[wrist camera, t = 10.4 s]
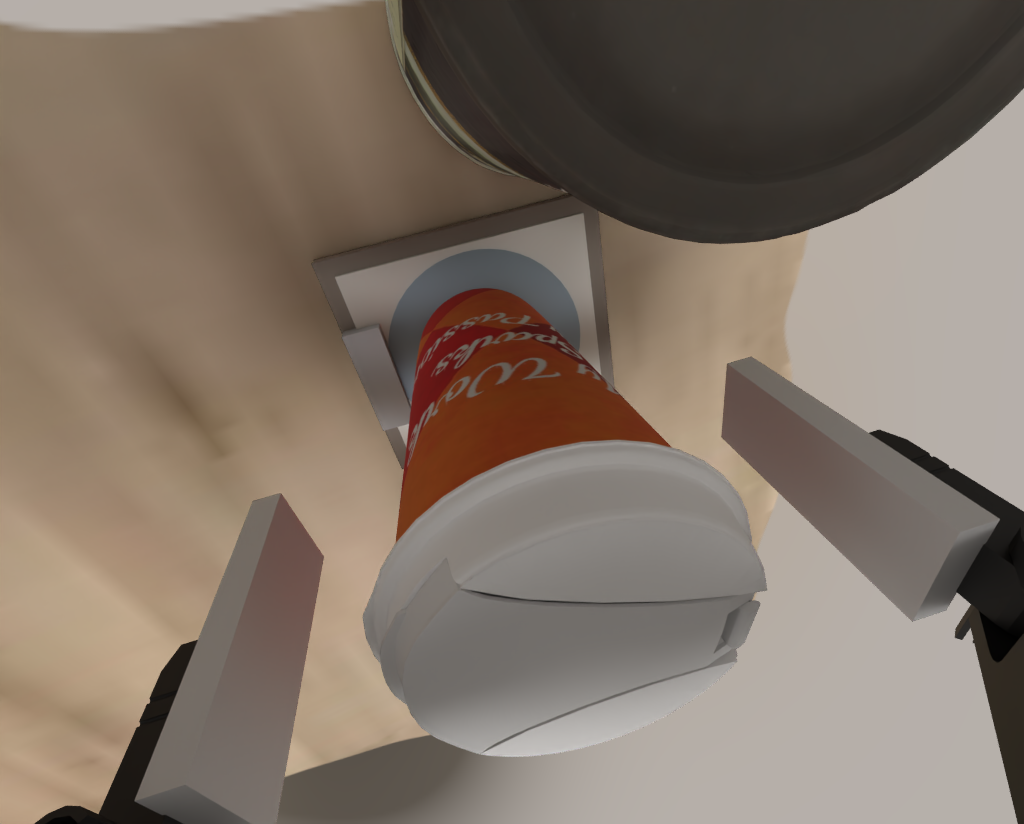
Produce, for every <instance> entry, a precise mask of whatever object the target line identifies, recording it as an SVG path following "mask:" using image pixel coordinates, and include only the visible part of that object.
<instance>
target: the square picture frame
mask: <svg viewBox="0 0 1024 824" xmlns="http://www.w3.org/2000/svg"><path fill="white" fill-rule="evenodd" d="M311 264H312V266H313V269H314V271H315V273H316V275H317V278H318V280H319V282H320V285H321V287H322V289H323V291H324V294H325V296H326V298H327V300H328V303H329V305H330V307H331V309H332V312H333V314H334V316H335V318H336V321H337V323H338V325H339V328H340V330H341V332H342V334H343V335H342V339H343V341H344V344H345V346H346V348H347V350H348V353H349V355H350V357H351V359H352V362H353V364H354V366H355V368H356V371H357V373H358V375H359V377H360V380H361V382H362V384H363V386H364V389H365V391H366V393H367V395H368V398H369V400H370V402H371V404H372V407H373V409H374V411H375V413H376V416H377V418H378V420H379V422H380V425H381V427H382V429H383V431H385V432H386V434H387V436H388V438H389V441H390V443H391V445H392V447H393V450H394V452H395V454H396V457H397V459H398V461H399V463H400V466H401V468H402V469H404V464H405V456H406V447H407V438H408V429H409V420H410V412H411V403H412V395H413V386H414V378H415V371H416V363H417V357H418V350H419V345H420V341H421V337H422V333H423V330H424V328H425V326H426V324H427V322H428V320H429V319H430V317H431V316H432V314H433V313H434V312H435V311H436V310H437V309H438V307H440V306H441V305H442V304H443V303H444V302H445V301H447V300H448V299H450V298H451V297H453V296H455V295H457V294H459V293H462V292H465V291H468V290H472V289H479V288H493V289H499V290H503V291H507V292H509V293H512V294H514V295H516V296H518V297H520V298H521V299H523V300H524V301H526V302H527V303H528V304H529V305H531V306H532V307H533V308H534V309H535V310H536V311H537V312H538V313H540V314H541V315H542V316H543V317H544V318H545V319H546V320H547V321H548V322H549V323H550V324H551V325H552V326H553V327H554V328H555V329H556V330H557V331H558V332H559V333H560V334H561V335H562V336H563V337H564V338H565V339H566V340H567V341H568V342H569V343H570V344H571V345H572V346H573V347H574V348H575V349H576V350H577V351H578V352H579V353H580V354H581V355H582V356H583V357H584V358H585V359H586V360H587V361H588V362H589V363H590V364H591V365H592V366H593V367H594V368H595V370H596V371H597V372H598V373H599V374H600V375H601V376H602V377H603V378H604V379H605V380H606V381H607V382H608V383H609V384H610V385H611V386H612V387H613V388H614V378H613V367H612V356H611V346H610V335H609V324H608V313H607V303H606V292H605V281H604V270H603V260H602V249H601V238H600V227H599V217H598V210H596V209H595V208H593V207H591V206H589V205H587V204H585V203H583V202H581V201H580V200H578V199H577V198H575V197H574V196H572V195H571V194H570V195H566V196H562V197H558V198H554V199H550V200H546V201H543V202H539V203H535V204H531V205H527V206H523V207H519V208H515V209H511V210H508V211H504V212H500V213H496V214H492V215H488V216H484V217H480V218H476V219H472V220H469V221H465V222H461V223H457V224H453V225H449V226H445V227H441V228H437V229H433V230H430V231H426V232H422V233H418V234H414V235H410V236H406V237H402V238H398V239H394V240H391V241H387V242H383V243H379V244H375V245H371V246H367V247H363V248H359V249H355V250H352V251H348V252H344V253H340V254H336V255H332V256H328V257H324V258H320V259H316V260H314V261H313V262H312V263H311Z"/></svg>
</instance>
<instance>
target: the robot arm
mask: <svg viewBox="0 0 1024 824" xmlns="http://www.w3.org/2000/svg"><path fill="white" fill-rule="evenodd" d="M721 437H722V438H723V439H724V440H725V441H726V442H727V443H728V444H729V445H730V446H731V447H732V448H733V449H734V450H735V451H736V452H737V453H738V454H739V455H740V456H741V457H742V458H744V459H745V460H746V461H747V462H748V463H749V464H750V465H751V466H752V467H753V468H754V469H755V470H756V471H757V472H758V473H759V474H760V475H761V476H762V477H763V478H764V479H765V480H766V481H767V482H768V483H769V484H770V485H771V486H772V487H774V488H775V489H776V490H777V491H778V492H779V493H780V494H781V495H782V496H783V497H784V498H785V499H786V500H787V501H788V502H789V503H790V504H791V505H792V506H793V507H794V508H795V509H796V510H797V511H798V512H799V513H800V514H801V515H803V516H804V517H805V518H806V519H807V520H808V521H809V522H810V523H811V524H812V525H813V526H814V527H815V528H816V529H817V530H818V531H819V532H820V533H821V534H822V535H823V536H824V537H825V538H826V539H827V540H828V541H829V542H831V544H833V545H834V546H835V547H836V548H837V549H838V550H839V551H840V552H841V553H842V554H843V555H844V556H845V557H846V558H847V559H848V560H849V561H850V562H851V563H852V564H853V565H854V566H855V567H856V568H857V569H858V570H859V571H860V572H861V573H862V574H864V575H865V576H866V577H867V578H868V579H869V580H870V581H871V582H872V583H873V584H874V585H875V586H876V587H877V588H878V589H879V590H880V591H881V592H882V593H883V594H884V595H885V596H886V597H887V598H888V599H889V600H891V602H893V603H894V604H895V605H896V606H897V607H898V608H899V609H900V610H901V611H902V612H903V613H904V614H905V615H906V616H907V617H908V618H909V619H910V620H911V621H912V622H913V621H916V620H919V619H922V618H925V617H928V616H931V615H934V614H937V613H940V612H942V611H945V610H947V608H948V606H949V605H950V603H951V601H952V600H953V598H954V596H955V595H956V593H959V594H960V595H961V596H962V597H963V598H964V599H966V600H967V601H968V602H969V603H970V604H971V605H970V607H969V609H968V610H967V612H966V613H965V615H964V616H963V618H962V619H961V621H960V623H959V624H958V626H957V627H956V631H955V638H957V639H961V640H962V639H963V638H964V636H965V635H966V633H967V632H968V630H969V629H970V627H971V631H972V635H973V639H974V640H973V643H975V647H976V652H977V655H978V660H979V664H980V668H981V672H982V677H983V681H984V685H985V689H986V693H987V697H988V702H989V706H990V710H991V714H992V718H993V722H994V726H995V730H996V734H997V739H998V743H999V747H1000V751H1001V755H1002V760H1003V764H1004V768H1005V772H1006V776H1007V780H1008V784H1009V788H1010V793H1011V797H1012V801H1013V805H1014V809H1015V814H1016V818H1017V822H1018V824H1024V512H1023V511H1022V510H1020V509H1018V508H1017V507H1015V506H1014V505H1012V504H1010V503H1009V502H1007V501H1006V500H1004V499H1002V498H1001V497H999V496H998V495H996V494H994V493H993V492H991V491H989V490H988V489H986V488H985V487H983V486H981V485H980V484H978V483H977V482H975V481H973V480H972V479H970V478H968V477H967V476H965V475H963V474H962V473H960V472H959V471H957V470H955V469H954V468H953V469H950V468H949V465H947V464H946V463H944V462H943V461H941V460H939V459H938V458H936V457H931V456H930V454H929V453H928V452H926V451H925V450H923V449H921V448H920V447H918V446H917V445H915V444H913V443H912V442H910V441H908V440H907V439H904V438H901V437H898V436H896V435H893V434H890V433H887V432H884V431H881V430H877V431H873V432H870V433H868V432H866V431H864V430H863V429H861V428H860V427H858V426H857V425H855V424H854V423H852V422H851V421H849V420H848V419H846V418H845V417H843V416H842V415H840V414H839V413H837V412H835V411H834V410H832V409H831V408H829V407H828V406H826V405H825V404H823V403H822V402H820V401H819V400H817V399H816V398H814V397H812V396H811V395H809V394H808V393H806V392H805V391H803V390H802V389H800V388H799V387H797V386H796V385H794V384H793V383H791V382H790V381H788V380H787V379H785V378H783V377H782V376H780V375H779V374H777V373H776V372H774V371H773V370H771V369H770V368H768V367H767V366H765V365H764V364H762V363H761V362H759V361H757V360H756V359H754V358H753V357H748V358H745V359H741V360H738V361H734V362H731V363H727V371H726V384H725V397H724V410H723V423H722V436H721ZM323 559H324V556H323V555H322V553H321V552H320V550H319V549H318V547H317V546H316V544H315V543H314V541H313V540H312V538H311V537H310V535H309V534H308V532H307V531H306V529H305V528H304V526H303V525H302V524H301V522H300V521H299V519H298V518H297V516H296V515H295V513H294V512H293V510H292V509H291V507H290V506H289V504H288V503H287V501H286V500H285V498H284V497H283V495H282V494H281V493H279V494H276V495H272V496H269V497H265V498H262V499H258V500H255V501H253V502H252V505H251V507H250V510H249V512H248V515H247V517H246V520H245V522H244V525H243V528H242V530H241V533H240V535H239V538H238V540H237V543H236V545H235V548H234V550H233V553H232V555H231V558H230V560H229V563H228V565H227V568H226V570H225V573H224V576H223V578H222V581H221V583H220V586H219V588H218V591H217V593H216V596H215V598H214V601H213V603H212V606H211V608H210V611H209V613H208V616H207V618H206V621H205V624H204V626H203V629H202V631H201V634H200V636H199V639H198V640H196V641H192V642H189V643H186V644H182V645H181V646H180V647H179V649H178V650H177V651H176V653H175V654H174V655H173V657H172V658H171V659H170V661H169V662H168V663H167V665H166V666H165V667H164V669H163V670H162V671H161V674H160V676H159V678H158V680H157V683H156V685H155V687H154V689H153V692H152V694H151V696H150V703H149V704H147V705H146V708H145V710H144V712H143V714H142V717H141V719H140V721H139V722H140V726H139V727H137V728H136V730H135V733H134V735H133V737H132V739H131V742H130V744H129V746H128V749H127V751H126V753H125V755H124V758H123V760H122V762H121V764H120V767H119V769H118V771H117V774H116V776H115V778H114V780H113V783H112V785H111V787H110V789H109V792H108V794H107V796H106V799H105V801H104V803H103V805H102V808H101V810H100V812H99V814H96V813H94V812H92V811H90V810H88V809H85V808H83V807H81V806H64V807H62V808H60V809H58V810H55V811H53V812H51V813H48V814H47V815H45V816H44V817H43V818H41V819H40V820H39V821H37V822H36V823H35V824H276V821H277V815H278V810H279V804H280V799H281V793H282V787H283V782H284V776H285V771H286V765H287V760H288V754H289V748H290V743H291V737H292V732H293V726H294V720H295V715H296V709H297V704H298V698H299V693H300V687H301V681H302V676H303V670H304V665H305V659H306V654H307V648H308V642H309V637H310V631H311V626H312V620H313V614H314V609H315V603H316V598H317V592H318V587H319V581H320V575H321V570H322V564H323Z"/></svg>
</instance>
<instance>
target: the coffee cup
mask: <svg viewBox="0 0 1024 824" xmlns="http://www.w3.org/2000/svg"><path fill="white" fill-rule="evenodd" d="M751 542H752V537H751V532H750V526H749V520H748V515H747V511H746V508H745V506H744V504H743V502H742V500H741V498H740V496H739V493H738V492H737V491H736V490H735V489H734V487H733V486H732V485H731V484H730V483H729V481H728V480H727V479H726V478H725V477H724V476H723V474H721V473H720V472H718V471H717V470H716V469H714V468H713V467H712V466H710V465H709V464H708V463H706V462H705V461H704V460H701V459H699V458H697V457H695V456H693V455H690V454H688V453H686V452H684V451H681V450H679V449H675V448H672V447H671V446H670V445H669V444H668V443H667V442H666V441H665V440H664V439H663V438H662V437H661V436H660V435H659V434H658V433H657V432H656V431H655V430H654V429H653V428H652V427H651V426H650V425H649V424H648V423H647V422H646V421H645V420H644V419H643V418H642V417H641V416H640V415H639V413H638V412H637V411H636V410H635V409H634V408H633V407H632V406H631V405H630V404H629V403H628V402H627V401H626V400H625V399H624V398H623V397H622V396H621V395H620V394H619V393H618V392H617V391H616V390H615V389H614V388H613V387H612V386H611V385H610V384H609V383H608V382H607V381H606V380H605V379H604V378H603V377H602V376H601V375H600V374H599V373H598V372H597V371H596V370H595V368H594V367H593V366H592V365H591V364H590V363H589V362H588V361H587V360H586V359H585V358H584V357H583V356H582V355H581V354H580V353H579V352H578V351H577V350H576V349H575V348H574V347H573V346H572V345H571V344H570V343H569V342H568V341H567V340H566V339H565V338H564V337H563V336H562V335H561V334H560V333H559V332H558V331H557V330H556V329H555V328H554V327H553V326H552V325H551V324H550V323H549V322H548V321H547V320H546V319H545V318H544V317H543V316H542V315H541V314H540V313H538V312H537V311H536V310H535V309H534V308H533V307H532V306H531V305H529V304H528V303H527V302H526V301H524V300H523V299H521V298H520V297H518V296H516V295H514V294H512V293H509V292H507V291H503V290H499V289H493V288H479V289H472V290H468V291H465V292H462V293H459V294H457V295H455V296H453V297H451V298H450V299H448V300H447V301H445V302H444V303H443V304H442V305H441V306H440V307H438V309H437V310H436V311H435V312H434V313H433V314H432V316H431V317H430V319H429V320H428V322H427V324H426V326H425V328H424V330H423V333H422V337H421V341H420V345H419V350H418V357H417V363H416V371H415V378H414V386H413V395H412V403H411V412H410V420H409V429H408V438H407V447H406V456H405V464H404V473H403V482H402V491H401V500H400V509H399V518H398V527H397V535H396V543H395V545H394V547H393V548H392V550H391V552H390V553H389V555H388V557H387V559H386V560H385V562H384V564H383V565H382V567H381V569H380V572H379V575H378V578H377V581H376V584H375V587H374V590H373V592H372V595H371V597H370V599H369V602H368V604H367V606H366V609H365V611H364V613H363V623H364V629H365V634H366V639H367V641H368V643H369V645H370V648H371V650H372V652H373V654H374V656H375V657H376V659H377V660H378V661H379V662H380V664H381V668H382V672H383V675H384V678H385V681H386V683H387V685H388V687H389V688H390V690H391V692H392V693H393V694H394V695H395V696H396V697H397V698H398V699H400V700H401V701H402V702H404V703H405V704H407V706H408V708H409V710H410V713H411V715H412V716H413V718H414V719H415V720H416V721H417V723H418V724H419V725H420V727H421V728H422V729H424V730H425V731H427V732H428V733H430V734H431V735H432V736H434V737H435V738H437V739H439V740H442V741H444V742H447V743H449V744H451V745H454V746H456V747H459V748H462V749H465V750H468V751H471V752H474V753H477V754H482V755H488V756H504V757H505V756H506V757H521V756H538V755H546V754H555V753H561V752H565V751H570V750H576V749H581V748H584V747H588V746H592V745H595V744H599V743H603V742H606V741H609V740H612V739H614V738H617V737H620V736H623V735H626V734H628V733H631V732H633V731H636V730H638V729H640V728H643V727H645V726H647V725H649V724H651V723H653V722H655V721H657V720H659V719H661V718H663V717H665V716H667V715H669V714H671V713H672V712H674V711H676V710H677V709H679V708H681V707H682V706H684V705H686V704H687V703H689V702H690V701H692V700H693V699H694V698H696V697H697V696H699V695H700V694H701V693H703V692H704V691H706V690H707V689H708V688H710V687H711V686H712V685H713V684H714V683H715V682H717V681H718V680H719V679H720V678H721V677H722V676H723V675H725V673H726V672H727V671H728V670H729V669H730V668H731V667H732V666H733V665H734V664H735V663H736V662H737V659H736V657H737V652H736V649H737V648H739V647H740V646H741V645H742V644H743V643H744V642H745V640H746V638H747V635H748V633H749V630H750V628H751V626H752V623H753V621H754V618H755V616H756V614H757V611H758V609H759V606H760V602H758V601H752V599H753V596H754V594H755V592H760V591H766V590H767V587H766V579H765V573H764V568H763V565H762V563H761V561H760V559H759V557H758V555H757V552H756V550H755V548H754V547H753V545H752V543H751Z"/></svg>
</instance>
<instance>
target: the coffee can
mask: <svg viewBox="0 0 1024 824" xmlns="http://www.w3.org/2000/svg"><path fill="white" fill-rule="evenodd" d="M385 4H386V11H387V19H388V24H389V30H390V35H391V40H392V44H393V48H394V51H395V55H396V58H397V60H398V63H399V67H400V71H401V73H402V75H403V77H404V80H405V82H406V84H407V86H408V88H409V90H410V92H411V94H412V96H413V98H414V99H415V101H416V103H417V104H418V106H419V108H420V109H421V111H422V112H423V114H424V115H425V116H426V118H427V119H428V121H429V122H430V123H431V124H432V126H433V127H434V128H435V129H436V130H437V132H438V133H439V134H440V135H441V136H442V137H443V138H444V139H445V140H446V141H447V142H448V143H449V144H450V145H451V146H453V147H454V148H455V149H456V150H457V151H459V152H460V153H461V154H463V155H464V156H466V157H467V158H469V159H470V160H472V161H473V162H474V163H476V164H478V165H480V166H483V167H485V168H487V169H489V170H492V171H495V172H498V173H502V174H505V175H511V176H517V177H522V178H525V179H529V180H532V181H535V182H538V183H541V184H543V185H546V186H549V187H551V188H554V189H557V190H560V191H562V192H566V193H569V194H571V195H572V196H574V197H575V198H577V199H578V200H580V201H581V202H583V203H585V204H587V205H589V206H591V207H593V208H595V209H596V210H598V211H600V212H602V213H604V214H606V215H608V216H610V217H613V218H615V219H617V220H619V221H621V222H623V223H625V224H628V225H630V226H633V227H636V228H638V229H641V230H644V231H648V232H652V233H655V234H658V235H662V236H665V237H669V238H673V239H678V240H685V241H692V242H698V243H715V244H728V243H747V242H758V241H764V240H770V239H776V238H779V237H782V236H787V235H792V234H796V233H800V232H803V231H806V230H809V229H811V228H814V227H818V226H821V225H823V224H826V223H829V222H831V221H834V220H837V219H839V218H842V217H844V216H847V215H850V214H852V213H855V212H857V211H859V210H861V209H862V208H864V207H866V206H867V205H869V204H871V203H873V202H875V201H877V200H879V199H881V198H883V197H885V196H888V195H890V194H892V193H894V192H895V191H897V190H898V189H900V188H902V187H903V186H905V185H907V184H908V183H910V182H911V181H913V180H914V179H916V178H918V177H919V176H920V175H922V174H923V173H924V172H926V171H927V170H929V169H930V168H931V167H933V166H934V165H936V164H937V163H938V162H940V161H941V160H943V159H944V158H945V157H947V156H948V155H949V154H950V153H952V152H953V151H954V150H956V149H957V148H958V147H960V146H961V145H962V144H964V143H965V142H966V141H968V140H969V139H970V138H971V137H972V136H974V135H975V134H976V133H977V132H978V131H979V130H980V129H981V128H982V127H983V126H985V125H986V124H987V123H988V122H989V121H990V120H991V119H992V118H994V117H995V116H996V115H997V114H998V113H999V112H1000V111H1001V110H1002V109H1003V108H1004V107H1005V106H1006V105H1008V104H1009V103H1010V102H1011V101H1012V100H1013V99H1014V98H1015V97H1016V96H1017V95H1018V94H1019V92H1020V91H1021V90H1022V89H1023V88H1024V0H385Z"/></svg>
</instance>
